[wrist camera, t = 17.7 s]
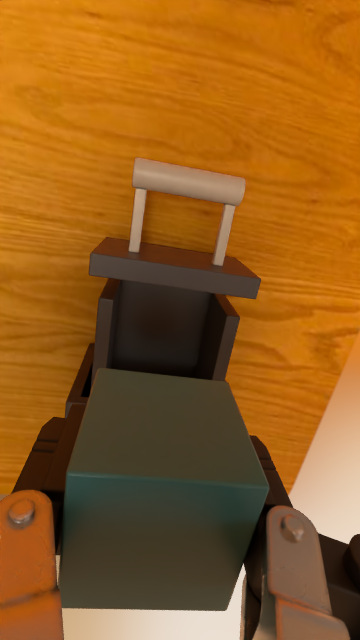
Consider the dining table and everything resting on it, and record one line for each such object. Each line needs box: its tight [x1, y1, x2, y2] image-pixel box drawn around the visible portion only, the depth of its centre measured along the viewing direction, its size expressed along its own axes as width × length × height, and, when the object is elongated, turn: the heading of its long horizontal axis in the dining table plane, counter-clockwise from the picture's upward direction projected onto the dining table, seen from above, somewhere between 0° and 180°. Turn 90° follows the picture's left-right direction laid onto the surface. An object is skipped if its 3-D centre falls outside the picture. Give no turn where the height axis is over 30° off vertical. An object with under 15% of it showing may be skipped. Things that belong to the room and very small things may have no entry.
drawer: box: [89, 157, 261, 393], centre depth 21 cm, size 15×9×6 cm, turn 170°
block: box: [58, 368, 269, 611], centre depth 10 cm, size 4×4×4 cm
